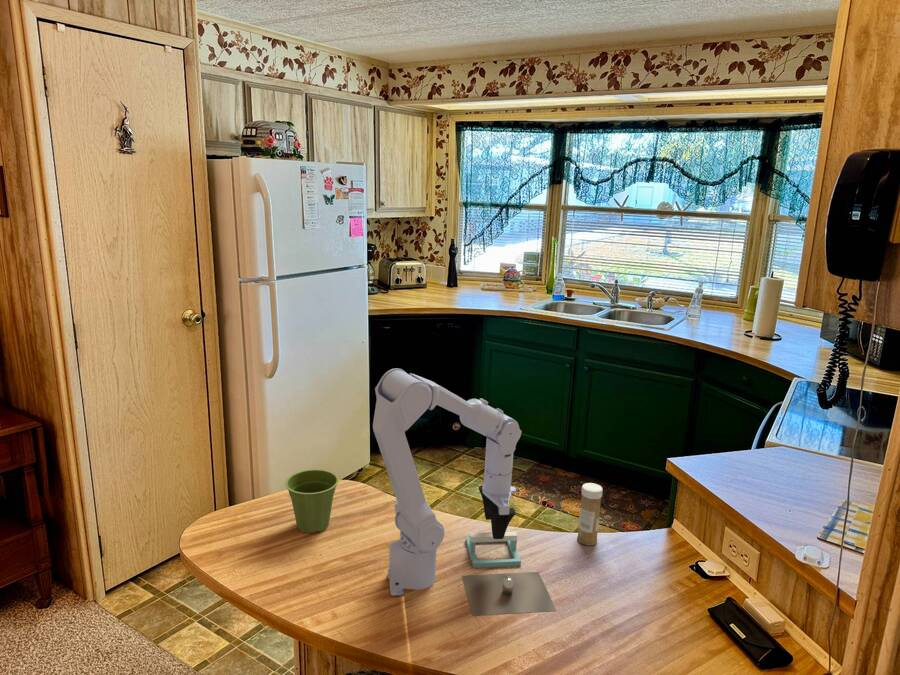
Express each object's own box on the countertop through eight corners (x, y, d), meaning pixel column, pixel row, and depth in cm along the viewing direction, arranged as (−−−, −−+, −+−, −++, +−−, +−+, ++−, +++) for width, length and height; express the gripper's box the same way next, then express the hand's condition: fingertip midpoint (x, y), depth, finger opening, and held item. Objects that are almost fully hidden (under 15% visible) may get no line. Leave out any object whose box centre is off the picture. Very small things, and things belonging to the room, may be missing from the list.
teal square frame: (473, 571, 127) (474, 548, 126) (465, 544, 137) (466, 522, 135) (520, 569, 129) (522, 546, 127) (509, 542, 138) (510, 521, 137)
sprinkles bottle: (601, 542, 140) (607, 488, 137) (586, 548, 137) (592, 493, 134) (586, 533, 144) (592, 480, 140) (572, 538, 141) (577, 484, 138)
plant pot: (289, 512, 147) (289, 469, 144) (340, 511, 148) (340, 468, 145) (282, 540, 135) (281, 493, 133) (336, 539, 137) (336, 493, 134)
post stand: (472, 620, 113) (473, 601, 112) (461, 580, 124) (462, 562, 123) (556, 615, 115) (558, 596, 114) (538, 576, 127) (539, 558, 126)
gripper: (526, 485, 121) (521, 546, 125) (508, 454, 135) (504, 510, 139) (491, 486, 120) (487, 548, 124) (477, 455, 134) (473, 511, 138)
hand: (494, 528), depth 131 cm, fingers open, 7 cm apart
